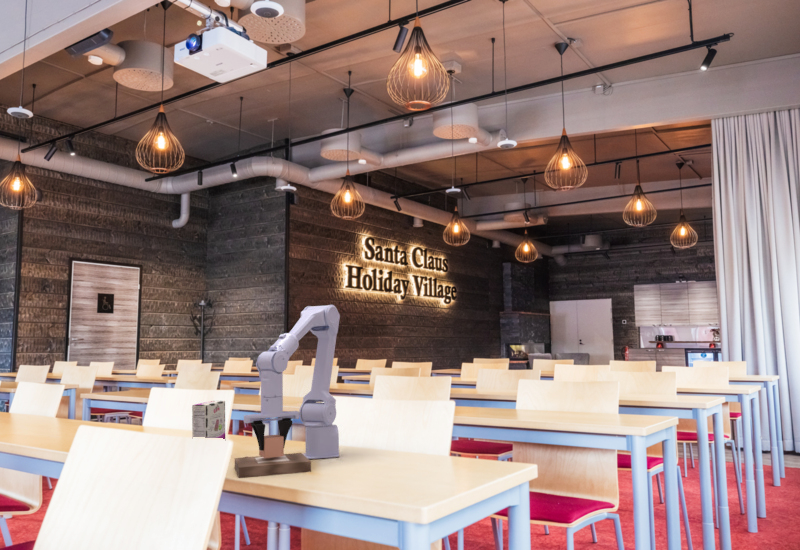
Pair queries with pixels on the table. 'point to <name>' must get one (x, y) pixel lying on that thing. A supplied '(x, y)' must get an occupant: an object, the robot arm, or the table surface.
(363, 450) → the table surface
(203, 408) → the candy bar box
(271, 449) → the terracotta cube
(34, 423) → the table surface
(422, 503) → the table surface
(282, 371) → the robot arm
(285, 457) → the walnut plinth
